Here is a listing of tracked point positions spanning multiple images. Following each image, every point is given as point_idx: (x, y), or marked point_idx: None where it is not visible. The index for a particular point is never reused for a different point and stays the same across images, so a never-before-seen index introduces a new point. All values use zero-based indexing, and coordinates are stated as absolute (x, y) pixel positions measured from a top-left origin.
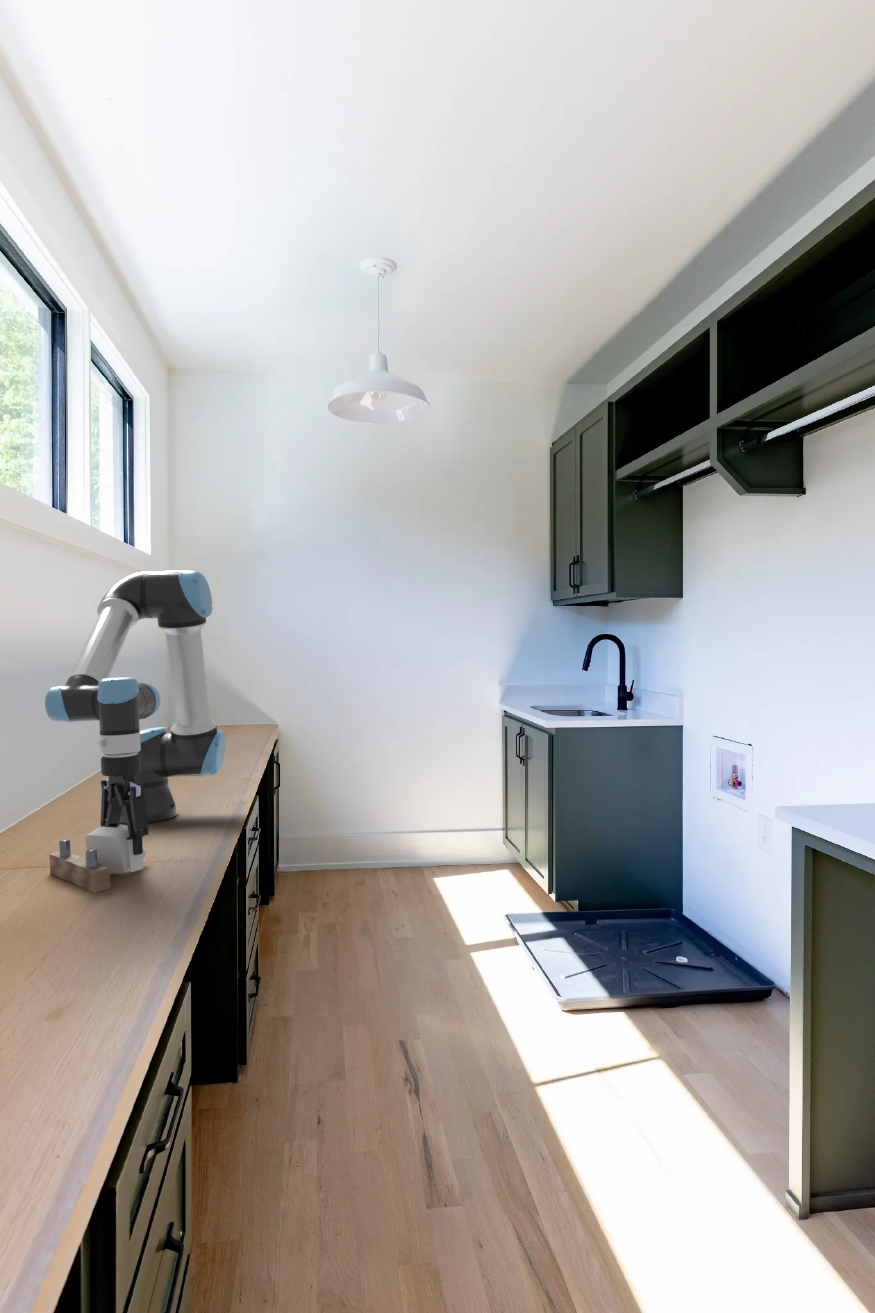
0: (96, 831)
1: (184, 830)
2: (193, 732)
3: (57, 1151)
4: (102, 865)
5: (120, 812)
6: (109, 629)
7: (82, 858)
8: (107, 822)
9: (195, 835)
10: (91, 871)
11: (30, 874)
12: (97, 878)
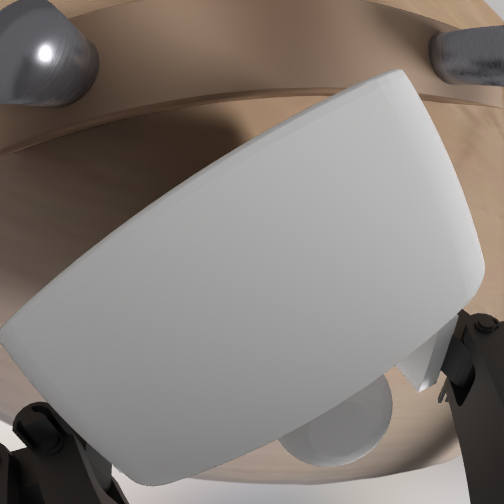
0: (393, 211)
1: (448, 420)
2: None
3: None
4: (25, 136)
5: (471, 489)
6: None
7: (326, 77)
8: (499, 366)
9: (408, 441)
10: None
11: (460, 17)
12: None
